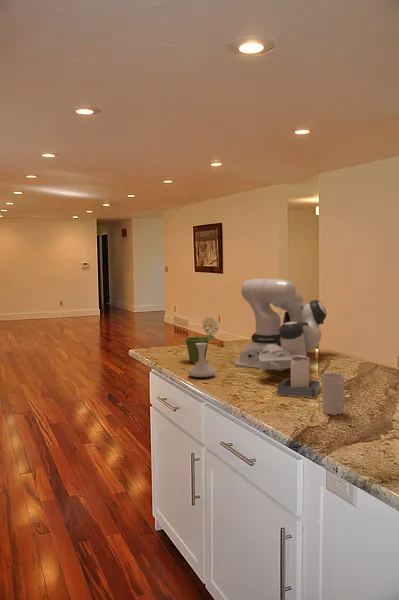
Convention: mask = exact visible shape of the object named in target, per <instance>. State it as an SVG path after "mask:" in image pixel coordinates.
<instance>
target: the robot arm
mask: <svg viewBox="0 0 399 600" xmlns="http://www.w3.org/2000/svg"><path fill="white" fill-rule="evenodd" d="M240 293H241V296H242V297H243V299H244V300H245V301H246V303H248V305H250V307H251V309H252V312H253V313H254V314H253V315H254V319H255V332H254V333H252V334H251V338H250V340H252V341H251V342H249V344H247V345H246V346H244V347H243V348H242V349H241V350H240V352H239V357H238V359H236V360H235V361H234V365H235V366H237V367H246V368H256V369H257V368H258V369H259V370H276V371H284V370H286V369H291V361H292V358H294V357H305V358H307V360H308V362H309V367H310V366H311V365H310V364H311V361H310V357H308V356H307V352H309V351H312V350H314V349H315V348H317V346H318V345H319V344H320V342H321V339H322V331H321V329H320V325H324V320H325V319H326V317H327V314H328V313H327V309H326V307H325V305H324V304H323V303H322V302H321V301H320V300H318V299H315V300H311V301H309V302H308V303H306V304H304V298H303V296H302V294H301V293H300V292H298V291H297V289H296V286H295V284H294V282H293V281H291V280H287V279H283V278H251V279H247V280H244V282H243V284H242V286H241V291H240ZM271 304H272V305H273V307H275V308H277V309H280V310H282V311H285V312H284V317H283V323H282V324H281V322H282V319H281V317H280V314H278V313H277V312H276V311H274V310H273V309H272V306H271ZM303 304H304V305H303Z"/></svg>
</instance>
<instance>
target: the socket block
mask: <svg viewBox="0 0 399 600" xmlns="http://www.w3.org/2000/svg"><path fill="white" fill-rule="evenodd" d="M320 384H321V383H320V381H319V380H314V379H313V380H312V379H309V388H302V387H291V378H285V379H282V380H281V381H280V383H278V384H277V386H276V388H277V391H276V392H275V394H276V395H275V396H279V395H288V396H287V397H292V396H299V397H298V398H304V397H309V398H308V399H316V398H317V396H316V395H318V394H319V393H318V392H320V391H321V390H322V386H321V385H320Z"/></svg>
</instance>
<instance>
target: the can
mask: <svg viewBox="0 0 399 600" xmlns="http://www.w3.org/2000/svg"><path fill="white" fill-rule="evenodd" d="M290 379H291V387H302V388H309V380H310V366H309V362H308V360H307V358H305V357H294V358H292V361H291V368H290Z"/></svg>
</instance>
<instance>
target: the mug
mask: <svg viewBox="0 0 399 600" xmlns="http://www.w3.org/2000/svg"><path fill="white" fill-rule="evenodd" d="M344 377H345V375H344V374H341V373H336V372H328V373H323V374H321V390H322V391H321V392H322V393H321V395H322V396H321V397H322V403H321V404H322V412H324V413H323V414H325V413H326V415H328V414H331V415H330V416H338V415H337V414H340V415H342V414H343V413H344V404H345V403H344V402H345V386H344V385H345V380H344V379H345V378H344ZM341 413H342V414H341Z"/></svg>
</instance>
